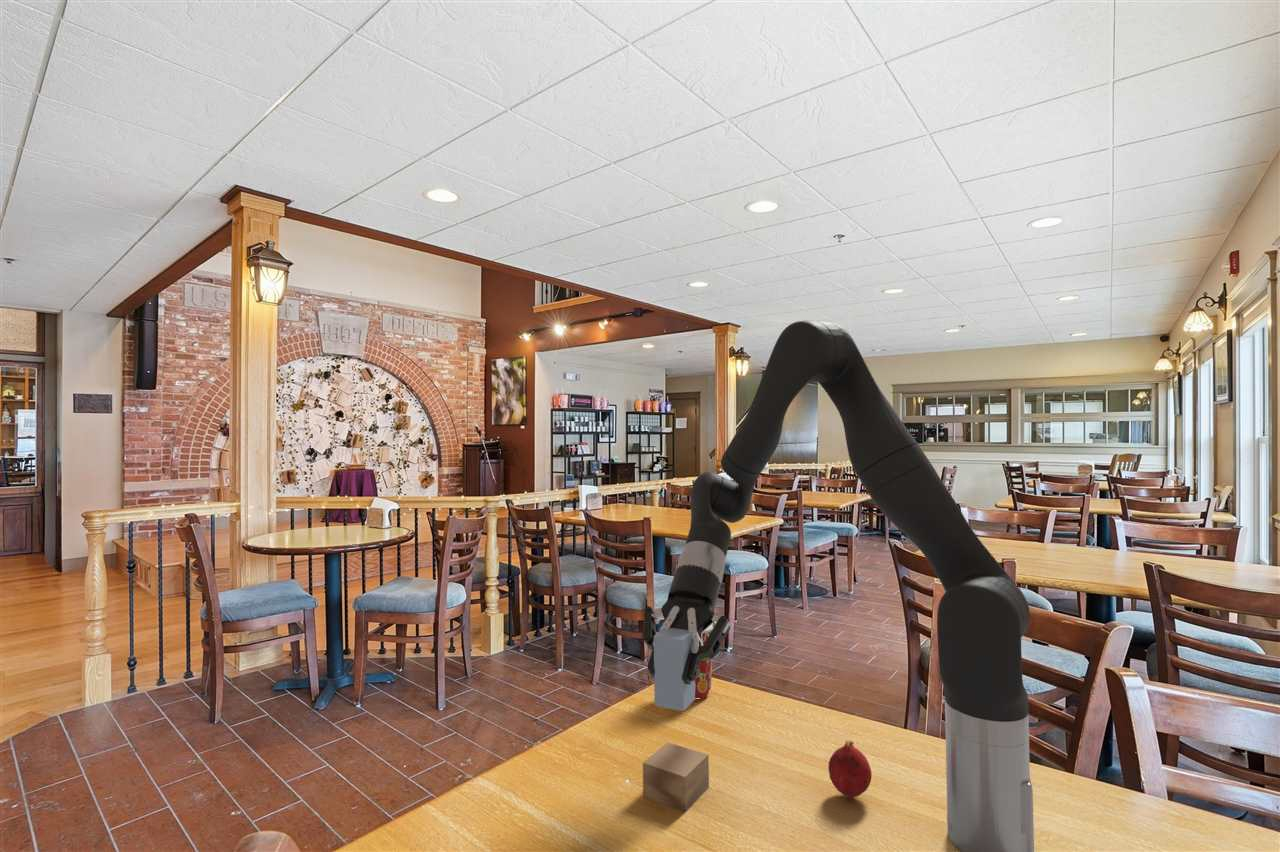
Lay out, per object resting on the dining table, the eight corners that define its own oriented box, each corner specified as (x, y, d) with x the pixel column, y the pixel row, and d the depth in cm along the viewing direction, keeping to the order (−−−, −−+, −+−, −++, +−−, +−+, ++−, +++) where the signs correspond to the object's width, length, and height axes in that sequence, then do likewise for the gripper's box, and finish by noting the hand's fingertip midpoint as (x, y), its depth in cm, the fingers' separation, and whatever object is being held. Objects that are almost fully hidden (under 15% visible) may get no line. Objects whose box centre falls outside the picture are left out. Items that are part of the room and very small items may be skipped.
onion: (875, 812, 85) (873, 753, 85) (831, 807, 86) (830, 749, 86) (868, 788, 90) (867, 733, 90) (827, 784, 91) (826, 729, 92)
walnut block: (708, 788, 91) (708, 754, 91) (685, 813, 85) (685, 777, 85) (668, 775, 95) (667, 742, 95) (643, 797, 89) (642, 762, 89)
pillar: (695, 698, 91) (694, 630, 91) (683, 711, 87) (682, 640, 87) (667, 693, 93) (666, 627, 93) (654, 705, 89) (653, 636, 89)
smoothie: (668, 700, 121) (667, 597, 122) (678, 683, 129) (677, 587, 130) (710, 705, 119) (709, 600, 119) (718, 687, 127) (716, 590, 127)
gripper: (650, 559, 100) (616, 659, 89) (735, 567, 94) (710, 675, 83) (664, 585, 105) (633, 682, 94) (746, 593, 99) (723, 699, 88)
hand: (669, 678), depth 89 cm, fingers closed on pillar, 4 cm apart
